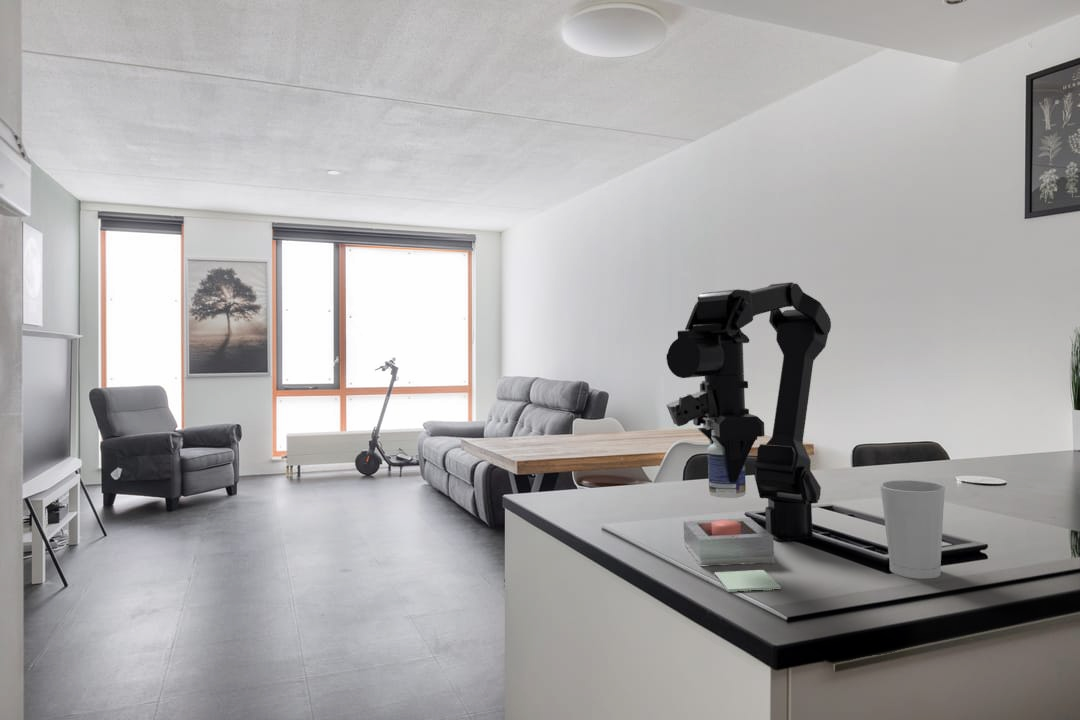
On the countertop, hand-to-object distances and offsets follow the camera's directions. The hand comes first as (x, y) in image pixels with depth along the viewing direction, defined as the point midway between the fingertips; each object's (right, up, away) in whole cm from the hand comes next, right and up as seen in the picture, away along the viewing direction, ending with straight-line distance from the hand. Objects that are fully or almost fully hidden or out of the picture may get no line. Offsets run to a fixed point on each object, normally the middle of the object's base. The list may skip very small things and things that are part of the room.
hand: (727, 478), depth 105 cm
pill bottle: (0, -3, 0) cm, 3 cm away
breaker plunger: (+1, -11, +4) cm, 12 cm away
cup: (+24, -12, -7) cm, 28 cm away
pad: (0, -13, -9) cm, 16 cm away
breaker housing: (+1, -13, +4) cm, 13 cm away
